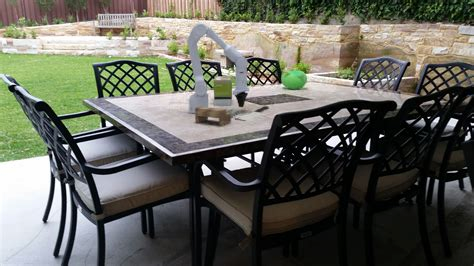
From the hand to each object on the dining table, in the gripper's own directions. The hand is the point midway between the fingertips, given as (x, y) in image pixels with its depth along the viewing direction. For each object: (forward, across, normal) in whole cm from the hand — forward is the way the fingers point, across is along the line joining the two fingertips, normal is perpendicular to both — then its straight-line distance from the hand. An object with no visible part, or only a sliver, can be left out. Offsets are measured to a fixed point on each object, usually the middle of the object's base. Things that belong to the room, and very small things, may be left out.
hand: (241, 106), depth 201 cm
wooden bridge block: (+3, -27, 0) cm, 27 cm away
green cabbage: (+3, +87, +4) cm, 87 cm away
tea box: (+3, +16, +20) cm, 26 cm away
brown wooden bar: (+3, -12, 0) cm, 12 cm away
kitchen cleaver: (+3, -1, -10) cm, 10 cm away
